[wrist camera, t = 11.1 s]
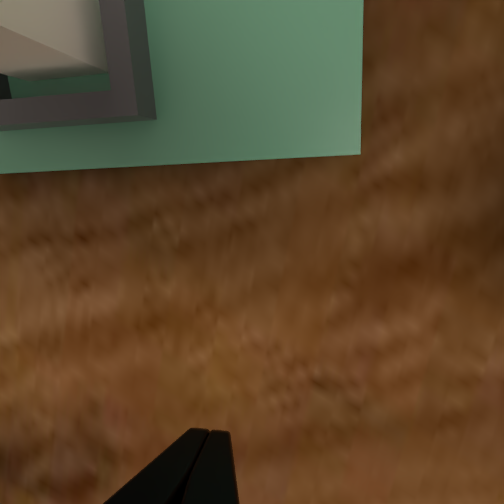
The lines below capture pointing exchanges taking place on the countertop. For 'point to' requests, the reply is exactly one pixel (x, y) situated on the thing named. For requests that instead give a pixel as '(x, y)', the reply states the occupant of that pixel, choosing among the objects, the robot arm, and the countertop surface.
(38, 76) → the plug
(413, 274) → the countertop surface
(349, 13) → the board
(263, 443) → the countertop surface
